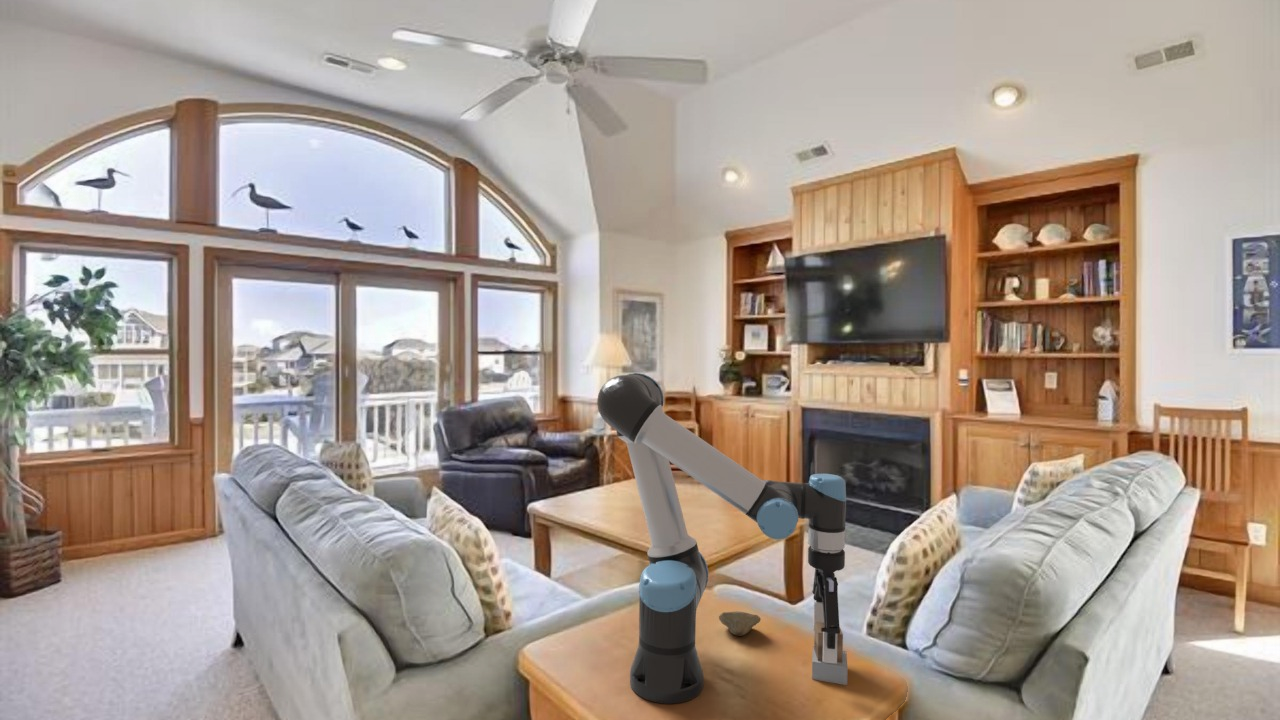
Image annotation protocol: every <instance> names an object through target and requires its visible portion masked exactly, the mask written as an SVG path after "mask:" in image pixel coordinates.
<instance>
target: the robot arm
mask: <svg viewBox="0 0 1280 720" xmlns="http://www.w3.org/2000/svg"><path fill="white" fill-rule="evenodd" d="M664 397H665V396H664V393H663V390H662V386H660V384H659V383H658V382H657V381H656V380H655V379H654V377H653V378H652V377H651V376H649V375H646V374H644V373H639V372H638V373H637V372H635V373H634V372H633V373H628V374H622V375H617V376H613V377H612V378H610V379H608V380H606V382H605V383H604V384H603V385H602V387H601V388H600V390H599V391H598V394H597V398H596V399H597V402H596V403H597V409H598V413H599V414H600V416H601V419H602V420H603V421H604V422H605V423H606V425H608V426H610V427H611V428H612V429H613V430H615V431H616V435H617V437H618V439H620V440H621V441H623V442H624V443H625V444H626V447H627V451H628V455H629V459H630V463H631V466H632V470H633V475H634V479H635V482H636V487H637V491H638V494H639V499H640V503H641V507H642V510H643V514H644V518H645V522H646V526H647V530H648V534H649V540H650V542H651V544H650V547H649V549H648V550H647V557H648V560H649V565H647V566H646V567H645V568H644V569H643V571H642V572H641V575H640V580H639V585H638V593H639V594H638V595H639V604H638V605H639V609H638V610H639V612H638V615H639V617H638V620H639V622H638V629H639V630H638V635H639V636H638V637H639V638H638V646H637V650H636V652H635V654H634V659H633V660H632V664H631V666H630V671H629V684H630V688H631V690H632V691H633V692H634V693H635V694H637V695H638V696H639V697H641V698H642V699H644V700H647V701H650V702H653V703H658V704H680V703H684V702H687V701H691V700H692V699H695V698H696V697H697V696H698V695H699V694H700V693H701V692H702V691H703V687H704V671H703V668H702V665H701V661H700V657H699V654H698V651H697V648H696V630H697V629H696V628H697V627H696V624H697V623H696V620H697V619H696V618H697V617H696V616H697V609H698V606H699V604H700V603H701V600H702V597H703V594H704V592H705V590H706V589H707V585H708V581H709V569H708V568H709V567H708V564H707V561H706V559H705V557H704V556H703V554H702V553H701V552H700V550H699V547H698V543H697V540H696V538H694V537H692V536H691V535H689V534H688V530H687V527H686V522H685V519H684V515H683V511H682V507H681V502H680V498H679V495H678V492H677V487H676V482H675V480H674V476H673V472H672V468H671V464H672V465H674V466H675V467H677V468H678V469H679V470H681V471H683V472H684V473H685V474H687V475H688V476H690V477H691V478H692V479H694V480H695V481H697V482H698V483H700V484H701V485H703V486H704V487H706V488H707V489H708V490H710V491H711V492H713V494H715V495H716V496H718V497H719V498H721V499H722V500H724V501H725V502H727V503H728V504H730V505H731V506H733V507H734V508H736V509H737V510H739V511H740V512H741V513H742V514H744V515H745V516H746V517H747V516H748V518H750V519H751V520H752V521H754V522H755V523H757V525H758V527H759V529H760V530H761V532H762V534H764V535H765V536H766V537H768V538H769V539H773V540H784V539H786V538H788V537H790V536H791V535H793V533H794V532H795V530H796V527H797V525H798V522H799V519H802V520H803V519H806V520H808V525H807V527H808V530H807V531H808V532H807V533H808V534H807V537H808V538H807V544H808V545H809V546H808V548H807V562H808V565H809V566H810V567H812V568H814V578H813V584H812V585H813V586H812V590H811V591H812V594H813V600H814V601H813V625H812V626H813V632H815V622H822V623H824V628H821V632H823V662H824V663H836V664H837V637H838V634H840V629H841V627H839V626H840V613H839V611H840V610H839V596H838V595H839V594H838V586H839V583H838V578H837V576H836V575H835V572H837V571H838V572H839V571H841V570H843V569H844V568H845V566H846V565H845V564H846V562H845V559H846V557H845V556H846V552H845V550H844V549H845V546H846V540H845V539H846V538H849V535H848V533H847V532H846V518H847V517H846V516H847V515H846V514H847V490H846V489H847V486H846V484H847V483H846V480H845V479H844V478H843V477H842V476H839V475H836V474H831V473H814V474H811V475H810V476H809V480H808V482H804V483H803V482H800V483H799V482H790V481H775V480H774V481H773V480H770V479H769V480H762V479H761V478H759V477H758V476H757V475H755V474H753V472H750V471H749V470H748V469H746V468H745V467H743V465H741V464H739V463H737V462H736V461H735V460H733V459H732V458H730V457H729V456H727V455H726V454H724V453H723V452H721V451H720V450H719V449H717V448H716V447H714V446H713V445H711V444H710V443H708V442H707V441H705V440H704V439H703V438H701V437H699V436H698V435H697V434H695V433H694V432H692V431H691V430H689V429H688V428H686V427H685V426H683V425H682V424H681V423H680V422H677V421H676V420H674V419H673V418H672V417H670V416H669V415H667V414H666V413H665V412H664V409H663V408H664V407H663V406H664V403H665V399H664Z"/></svg>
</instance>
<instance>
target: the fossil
mask: <svg viewBox="0 0 1280 720" xmlns="http://www.w3.org/2000/svg"><path fill="white" fill-rule="evenodd" d="M718 619H719V621H720V622H721V624H722V625H723V626H725V627H726V628H728V630H729V632H730V633H731V634H732V635H734V636H740V637H744V636H745V635H747V634H748V633H749V632H750V631H751V630H752V628H753V627H754V626H756V625H758V624H759V623H760V622H761V617H760V616H759V615H758V614H754V613H753V614H752V613H748V612H744V611H738V610H737V611H724V612H722V613H721V614H720V615H718Z"/></svg>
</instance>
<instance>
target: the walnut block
mask: <svg viewBox="0 0 1280 720" xmlns="http://www.w3.org/2000/svg"><path fill="white" fill-rule="evenodd" d="M839 627H840V625H839ZM821 628H824V623H822V622H815V631H813V632H814V633H813V634H814V636H813V638H814V641H813V642H814V643H813V646H814V650H815V653H816V656H817V660H818V661H823V632H821ZM843 642H844V633H843V630H842V629H841V627H840V634H838V637H837V662H840V663H842V657H843V651H844V649H843V648H844V647H843V646H844V643H843Z"/></svg>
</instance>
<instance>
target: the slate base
mask: <svg viewBox="0 0 1280 720" xmlns="http://www.w3.org/2000/svg"><path fill="white" fill-rule="evenodd" d="M811 664H812V665H811V666H812V667H811V668H812V669H811V671H812V672H811V679H812V680H815V681H821V682H827V683H833V684H839V685H844V686H848V671H849V670H848V657H847V650H843V657H842V663H840V662H837V664H836V663H824V662H823V661H818V660H817V656H816V653H815V650H814V645H813V646H812V662H811Z"/></svg>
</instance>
